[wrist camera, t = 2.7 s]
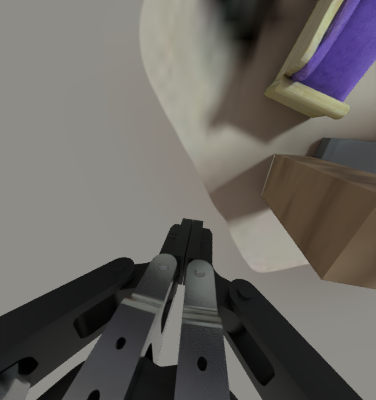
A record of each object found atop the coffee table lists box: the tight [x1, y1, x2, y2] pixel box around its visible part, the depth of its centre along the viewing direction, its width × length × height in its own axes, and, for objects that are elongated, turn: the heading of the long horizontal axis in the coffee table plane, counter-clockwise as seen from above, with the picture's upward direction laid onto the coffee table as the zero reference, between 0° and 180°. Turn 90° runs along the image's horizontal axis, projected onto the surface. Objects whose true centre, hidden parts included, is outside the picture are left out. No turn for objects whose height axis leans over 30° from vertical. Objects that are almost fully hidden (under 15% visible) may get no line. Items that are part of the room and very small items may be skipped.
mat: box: [314, 138, 376, 174], centre depth 24 cm, size 17×14×2 cm
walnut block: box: [261, 154, 376, 289], centre depth 18 cm, size 6×8×18 cm
